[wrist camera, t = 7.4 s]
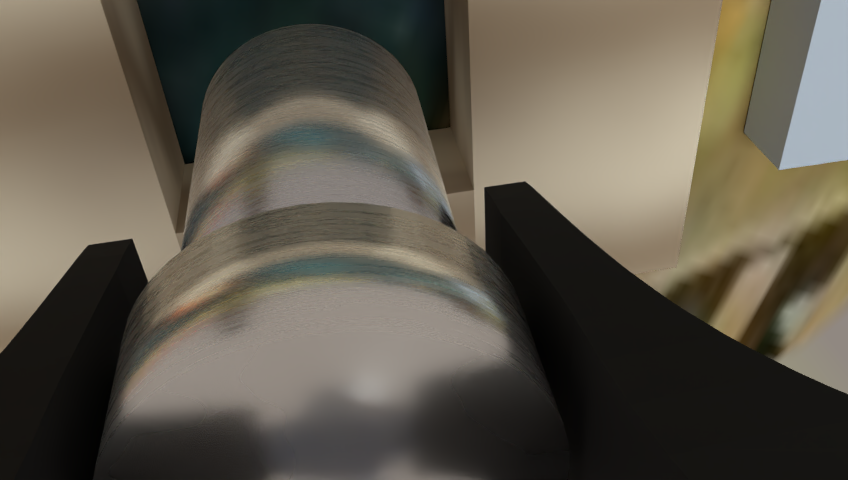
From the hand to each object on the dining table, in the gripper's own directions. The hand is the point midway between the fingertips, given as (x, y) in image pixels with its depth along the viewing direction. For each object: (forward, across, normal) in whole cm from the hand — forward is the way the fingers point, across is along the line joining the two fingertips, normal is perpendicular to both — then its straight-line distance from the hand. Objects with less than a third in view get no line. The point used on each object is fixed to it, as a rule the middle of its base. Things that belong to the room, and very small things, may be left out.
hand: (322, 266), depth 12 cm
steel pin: (+4, 0, 0) cm, 4 cm away
